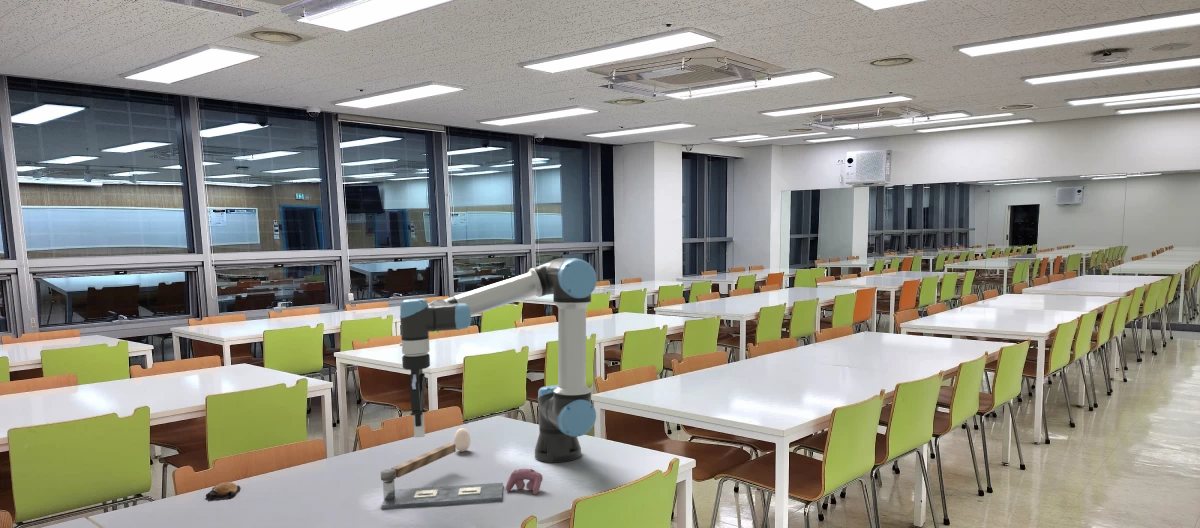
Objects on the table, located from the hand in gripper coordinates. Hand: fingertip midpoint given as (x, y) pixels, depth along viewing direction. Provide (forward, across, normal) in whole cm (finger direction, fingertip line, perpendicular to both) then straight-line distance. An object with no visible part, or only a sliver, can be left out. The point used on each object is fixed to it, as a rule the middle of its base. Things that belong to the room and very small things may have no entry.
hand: (419, 436), depth 206 cm
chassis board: (+16, +5, +7) cm, 18 cm away
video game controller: (+17, +4, +29) cm, 34 cm away
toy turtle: (+17, -10, -58) cm, 61 cm away
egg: (+16, -38, +8) cm, 42 cm away
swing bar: (+10, -6, -1) cm, 12 cm away
